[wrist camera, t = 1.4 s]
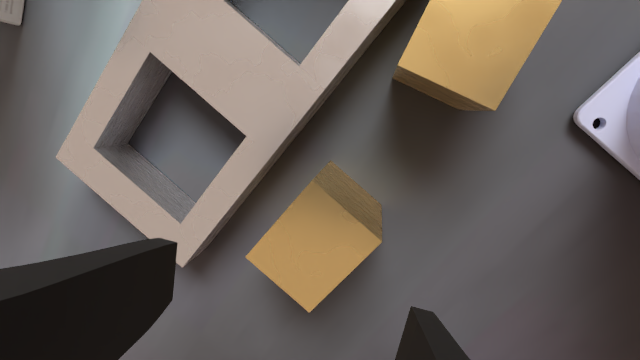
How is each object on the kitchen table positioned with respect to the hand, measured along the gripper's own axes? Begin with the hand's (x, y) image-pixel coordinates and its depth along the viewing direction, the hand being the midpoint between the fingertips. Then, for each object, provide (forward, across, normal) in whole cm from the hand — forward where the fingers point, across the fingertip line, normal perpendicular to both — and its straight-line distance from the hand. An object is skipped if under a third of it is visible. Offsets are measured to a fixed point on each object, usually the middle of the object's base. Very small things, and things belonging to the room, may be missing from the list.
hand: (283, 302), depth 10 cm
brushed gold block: (+9, 0, 0) cm, 9 cm away
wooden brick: (+9, -4, -9) cm, 13 cm away
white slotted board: (+9, +6, -7) cm, 12 cm away
